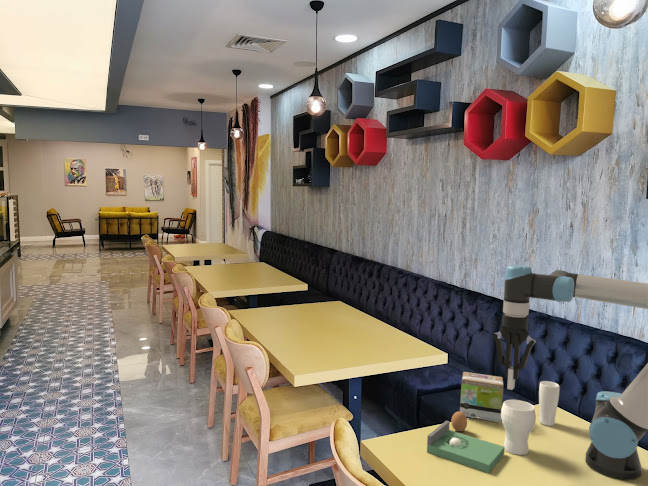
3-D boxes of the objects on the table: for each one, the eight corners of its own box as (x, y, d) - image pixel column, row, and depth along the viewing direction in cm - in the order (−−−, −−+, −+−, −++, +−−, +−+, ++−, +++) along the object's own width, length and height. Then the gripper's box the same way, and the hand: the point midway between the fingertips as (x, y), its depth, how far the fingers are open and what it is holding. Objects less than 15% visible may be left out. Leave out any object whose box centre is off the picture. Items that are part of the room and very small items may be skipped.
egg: (448, 427, 183) (449, 408, 182) (463, 427, 184) (464, 408, 183) (454, 434, 178) (455, 414, 177) (469, 434, 178) (470, 414, 178)
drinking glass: (542, 418, 194) (545, 379, 193) (560, 424, 189) (563, 384, 188) (533, 422, 190) (536, 383, 189) (551, 428, 185) (554, 388, 184)
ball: (454, 449, 168) (465, 447, 166) (449, 453, 165) (461, 451, 163) (450, 436, 169) (461, 434, 167) (445, 441, 166) (456, 439, 164)
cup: (536, 459, 162) (539, 413, 161) (501, 455, 164) (504, 409, 163) (529, 444, 172) (532, 400, 171) (496, 440, 174) (499, 397, 173)
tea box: (459, 417, 193) (461, 378, 192) (460, 407, 202) (462, 370, 201) (501, 423, 188) (503, 384, 187) (500, 413, 198) (502, 375, 197)
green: (504, 454, 164) (505, 437, 164) (488, 473, 152) (489, 455, 152) (445, 435, 176) (446, 420, 176) (426, 452, 164) (427, 435, 164)
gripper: (540, 316, 159) (535, 390, 160) (498, 309, 166) (493, 380, 168) (534, 320, 153) (529, 396, 154) (490, 313, 160) (486, 386, 162)
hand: (510, 388), depth 161 cm, fingers closed
